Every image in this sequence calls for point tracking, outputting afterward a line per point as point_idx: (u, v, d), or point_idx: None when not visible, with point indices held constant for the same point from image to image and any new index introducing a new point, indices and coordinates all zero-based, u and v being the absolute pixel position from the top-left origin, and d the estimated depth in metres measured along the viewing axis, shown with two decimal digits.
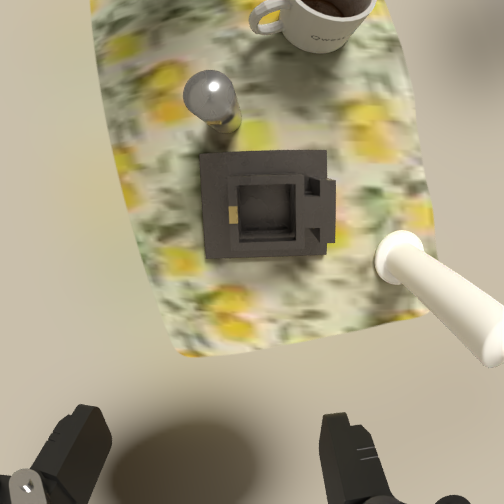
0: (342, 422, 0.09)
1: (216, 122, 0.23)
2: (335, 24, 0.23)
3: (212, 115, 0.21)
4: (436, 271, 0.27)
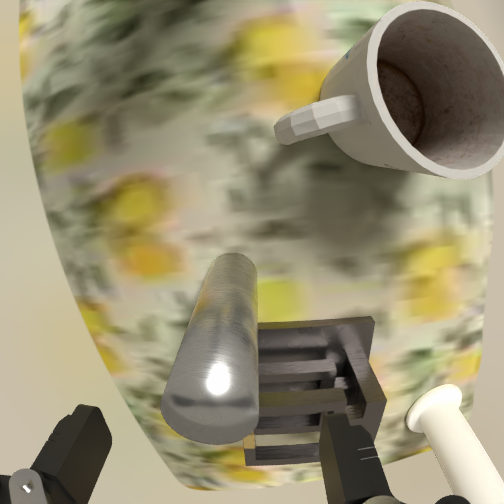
0: (342, 422, 0.09)
1: None
2: None
3: (220, 443, 0.11)
4: (473, 469, 0.17)
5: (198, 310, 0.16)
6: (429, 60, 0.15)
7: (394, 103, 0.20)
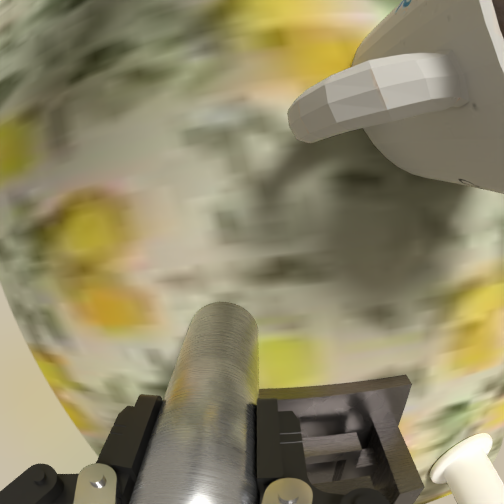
0: (271, 406, 0.10)
1: None
2: None
3: None
4: None
5: (162, 426, 0.08)
6: (502, 33, 0.08)
7: None
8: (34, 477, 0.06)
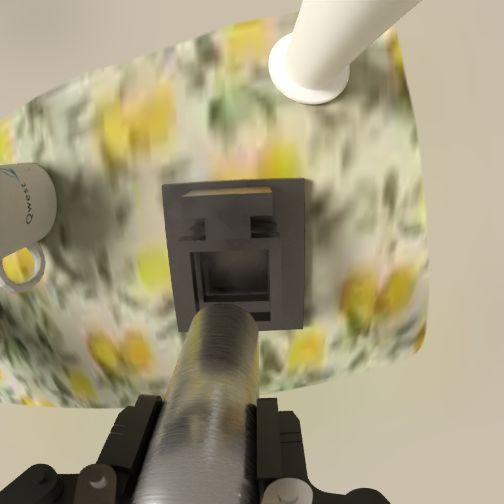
0: (271, 406, 0.10)
1: None
2: None
3: None
4: (306, 30, 0.14)
5: (162, 428, 0.08)
6: None
7: None
8: (34, 477, 0.06)
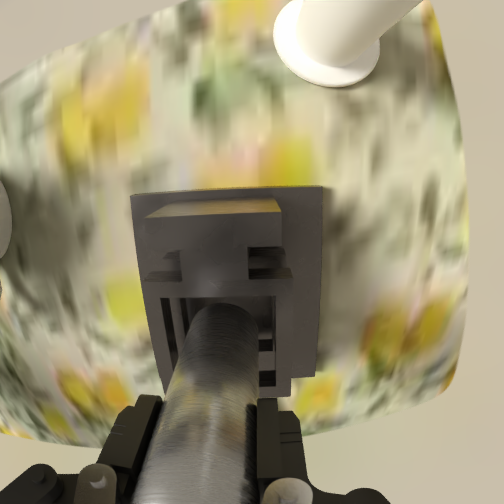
0: (271, 406, 0.10)
1: None
2: None
3: None
4: None
5: (162, 427, 0.08)
6: None
7: None
8: (34, 477, 0.06)
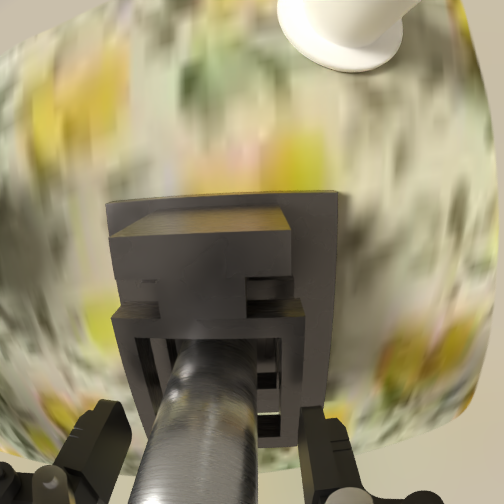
0: (317, 414, 0.09)
1: None
2: None
3: None
4: None
5: (166, 406, 0.09)
6: None
7: None
8: None
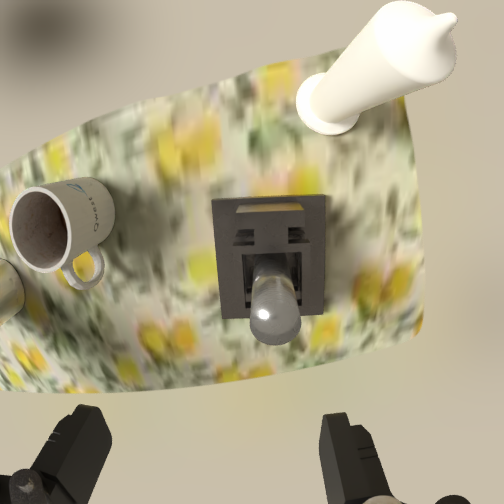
0: (342, 422, 0.09)
1: None
2: (75, 225, 0.27)
3: (279, 344, 0.23)
4: (332, 93, 0.21)
5: (259, 276, 0.27)
6: (44, 202, 0.31)
7: None
8: None
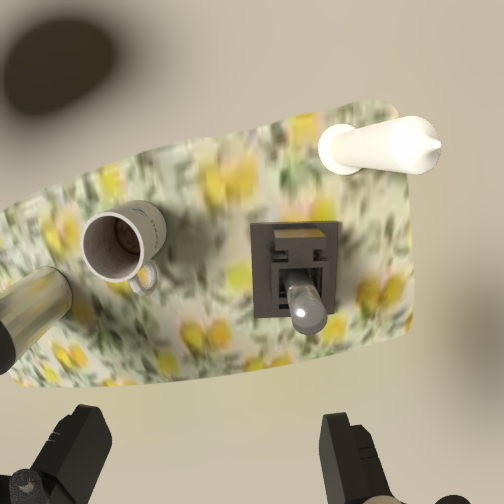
0: (342, 422, 0.09)
1: None
2: (146, 245, 0.36)
3: (311, 333, 0.32)
4: (352, 155, 0.31)
5: (293, 285, 0.37)
6: (106, 221, 0.40)
7: None
8: None
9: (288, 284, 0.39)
